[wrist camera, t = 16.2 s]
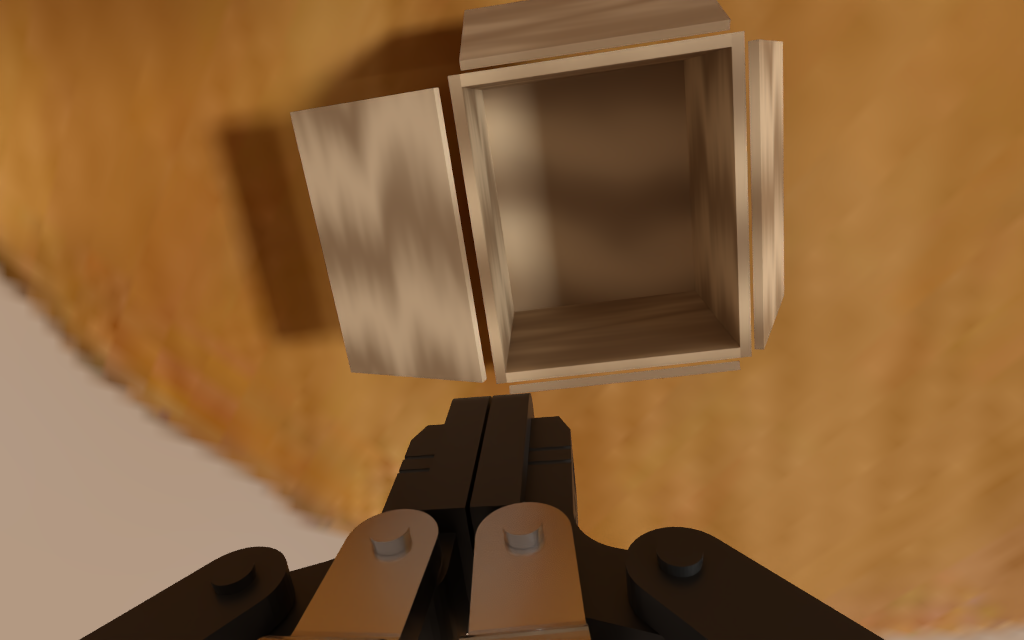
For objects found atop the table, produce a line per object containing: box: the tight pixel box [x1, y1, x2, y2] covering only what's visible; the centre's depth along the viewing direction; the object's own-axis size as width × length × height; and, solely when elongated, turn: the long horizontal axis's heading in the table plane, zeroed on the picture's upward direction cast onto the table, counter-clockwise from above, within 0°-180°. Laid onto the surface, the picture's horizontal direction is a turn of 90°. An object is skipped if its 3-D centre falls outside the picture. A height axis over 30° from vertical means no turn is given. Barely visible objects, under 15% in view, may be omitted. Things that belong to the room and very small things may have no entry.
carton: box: [448, 0, 784, 394], centre depth 33 cm, size 20×16×10 cm
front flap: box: [290, 88, 486, 383], centre depth 30 cm, size 13×1×8 cm
